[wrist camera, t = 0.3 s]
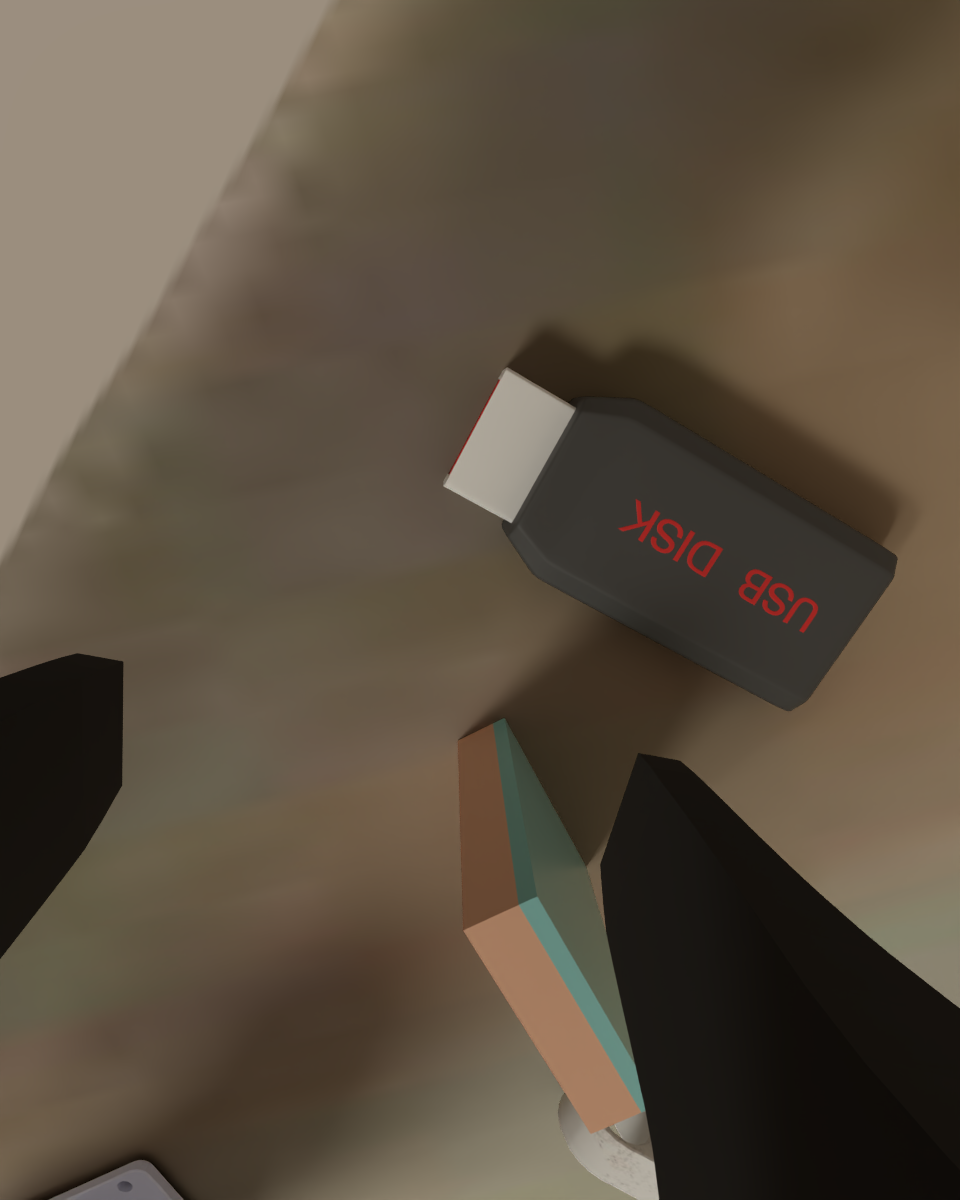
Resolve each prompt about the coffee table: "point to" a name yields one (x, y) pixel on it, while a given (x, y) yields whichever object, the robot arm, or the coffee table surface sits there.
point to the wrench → (613, 1151)
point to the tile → (542, 927)
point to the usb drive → (672, 536)
